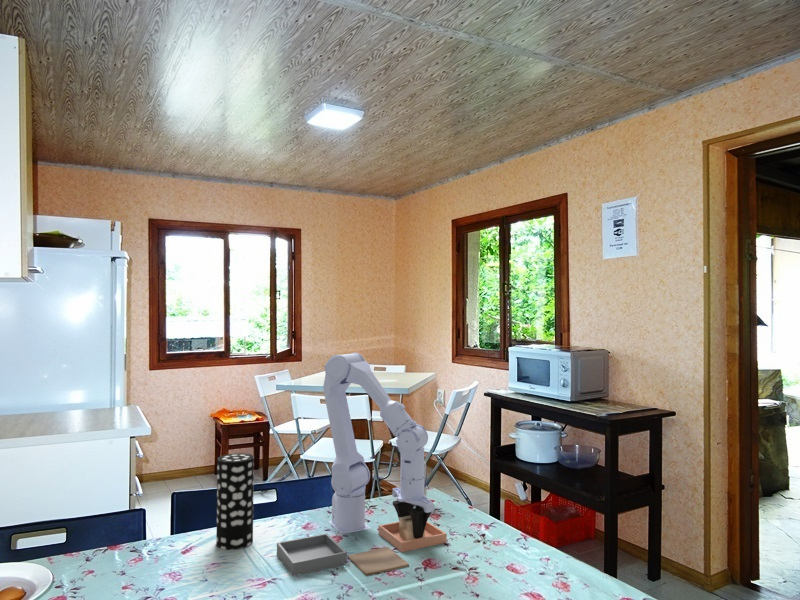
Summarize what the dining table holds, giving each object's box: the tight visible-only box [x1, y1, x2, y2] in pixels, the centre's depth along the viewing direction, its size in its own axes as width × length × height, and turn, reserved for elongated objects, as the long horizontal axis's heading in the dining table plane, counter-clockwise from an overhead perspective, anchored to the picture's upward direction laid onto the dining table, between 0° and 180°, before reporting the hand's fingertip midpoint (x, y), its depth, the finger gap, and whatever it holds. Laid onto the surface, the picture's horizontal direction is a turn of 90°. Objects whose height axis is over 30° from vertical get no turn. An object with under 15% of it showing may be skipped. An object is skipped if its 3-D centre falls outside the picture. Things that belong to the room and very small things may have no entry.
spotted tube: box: [215, 452, 255, 551], centre depth 135 cm, size 8×8×20 cm
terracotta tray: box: [378, 521, 447, 553], centre depth 136 cm, size 12×12×3 cm
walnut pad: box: [347, 546, 410, 577], centre depth 123 cm, size 10×10×1 cm
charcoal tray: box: [276, 533, 348, 577], centre depth 126 cm, size 12×12×3 cm
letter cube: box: [398, 516, 425, 541], centre depth 136 cm, size 4×4×5 cm
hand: (411, 534), depth 136 cm, fingers closed on letter cube, 5 cm apart
